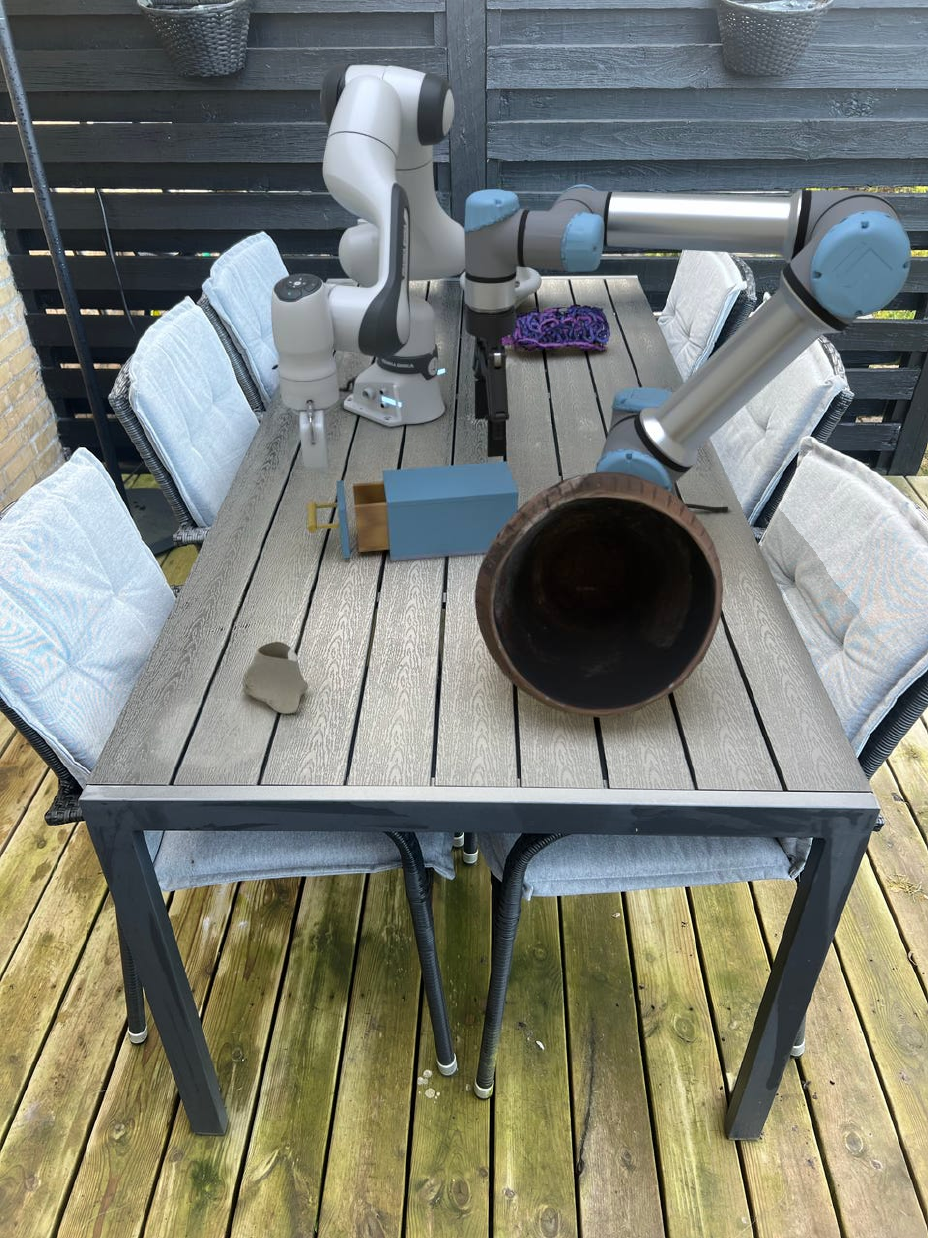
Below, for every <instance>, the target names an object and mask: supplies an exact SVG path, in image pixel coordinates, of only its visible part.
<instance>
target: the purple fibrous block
mask: <svg viewBox="0 0 928 1238" xmlns="http://www.w3.org/2000/svg"><path fill="white" fill-rule="evenodd" d="M538 308H539V307H538V306H535V307H533V308H532V309H530V311H529V312H520V313H519V314H517V315H516V319H515V330H514V332H513V333H512V334H511V335H509V336H505V337H503V338H502V339H501V340H502V346H505V347H507V346H508V347H507V349H508V348H510V347H512V348H513V353H516V352H517V351H518V349H523V350H524V351H526V352H531V353H532V352H536V351H537V350H538V351H539V352H541V351H545V349H548V350H551V351H552V353H553V354H555V350H556V348H562V349H567V348H572V347H578V348H579V349H580V352H591V351H597V352H600V353H602V351H605V352H606V346H607V345H608V344H607V342H608V341H609V340H610V337H611V332H610V324H609V322H608V320H607V316H606V314H605V313H604V308H603V307H601V308H600V307H597V306H591V305H586V304H584V305H581V304H578V303H574V304H571V305H570V306H562V307H561V306H560V307H558V306H557V307H550V308H546V309H544V310H541V311H540V312H538ZM562 309H566V310H564V311H563V310H562ZM561 310H562V311H561Z"/></svg>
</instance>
